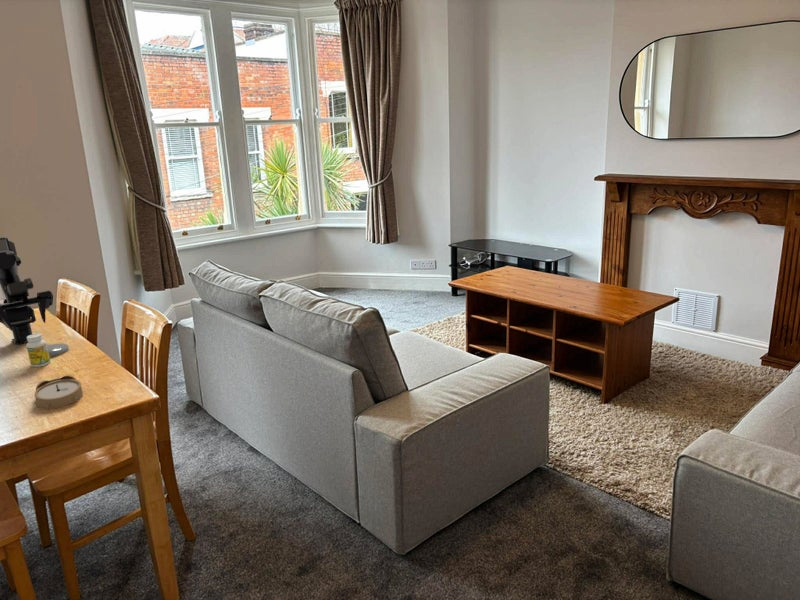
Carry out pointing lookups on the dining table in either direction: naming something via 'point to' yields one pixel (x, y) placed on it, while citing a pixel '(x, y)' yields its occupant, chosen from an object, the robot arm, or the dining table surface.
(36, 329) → the dining table surface
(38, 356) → the supplement bottle
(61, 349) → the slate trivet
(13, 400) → the dining table surface
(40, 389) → the alarm clock
